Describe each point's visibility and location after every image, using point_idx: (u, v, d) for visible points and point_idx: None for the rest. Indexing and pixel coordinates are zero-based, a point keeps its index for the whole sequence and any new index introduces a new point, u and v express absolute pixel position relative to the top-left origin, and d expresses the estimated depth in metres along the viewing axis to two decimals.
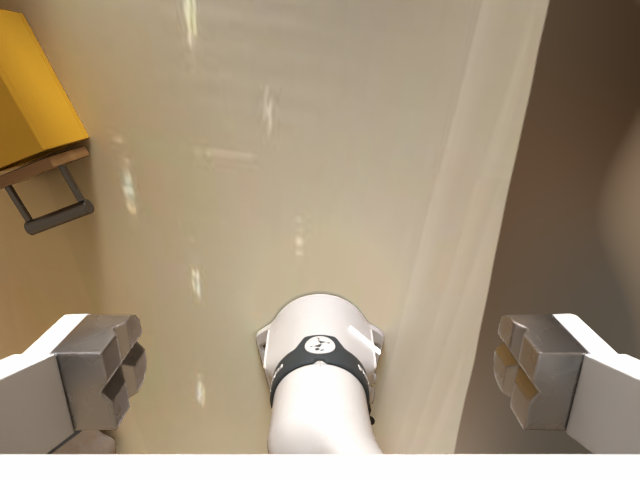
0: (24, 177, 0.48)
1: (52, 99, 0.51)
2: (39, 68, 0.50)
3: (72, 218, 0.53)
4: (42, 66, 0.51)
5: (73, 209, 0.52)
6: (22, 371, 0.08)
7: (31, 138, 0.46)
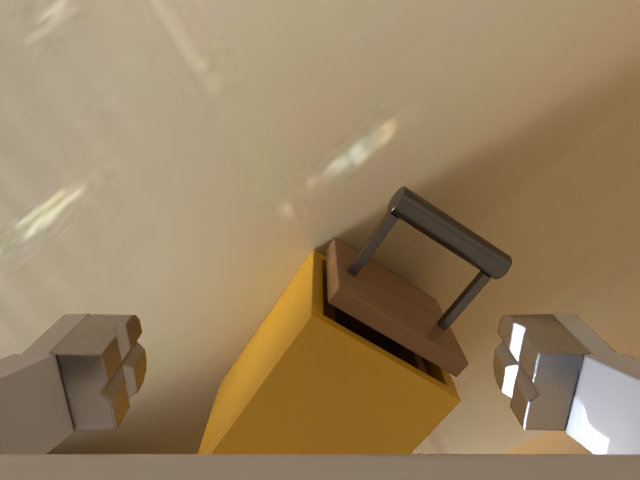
0: (389, 319, 0.25)
1: (275, 321, 0.32)
2: (252, 350, 0.34)
3: (435, 213, 0.26)
4: (251, 346, 0.34)
5: (415, 219, 0.26)
6: (22, 371, 0.08)
7: (304, 339, 0.25)
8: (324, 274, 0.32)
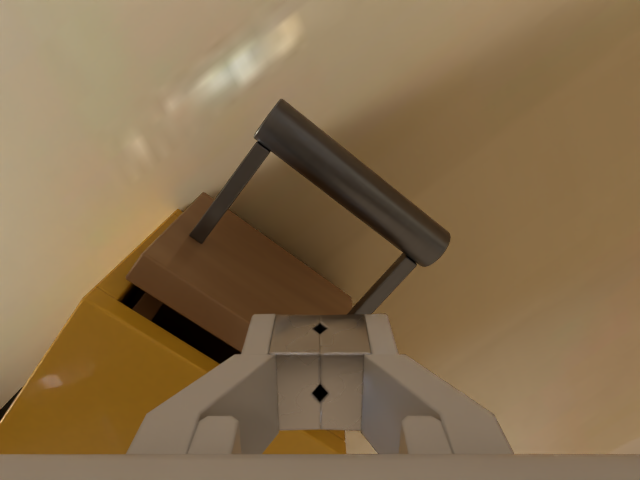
0: (232, 316, 0.15)
1: None
2: None
3: (328, 146, 0.16)
4: None
5: (293, 154, 0.16)
6: (254, 371, 0.08)
7: (75, 338, 0.14)
8: None
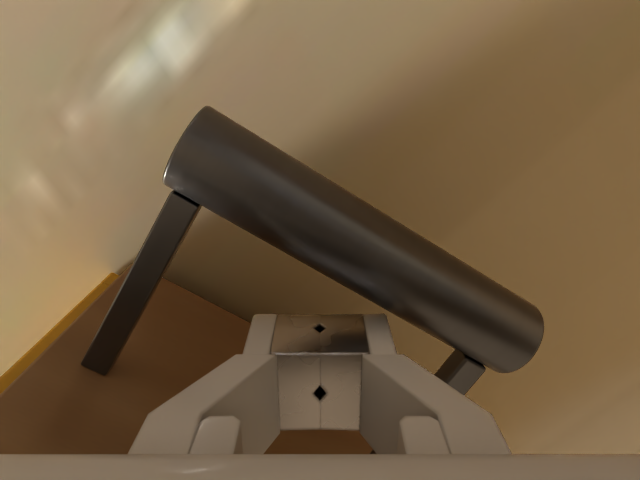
0: None
1: None
2: None
3: (304, 186, 0.08)
4: None
5: (240, 209, 0.08)
6: (256, 371, 0.08)
7: None
8: None
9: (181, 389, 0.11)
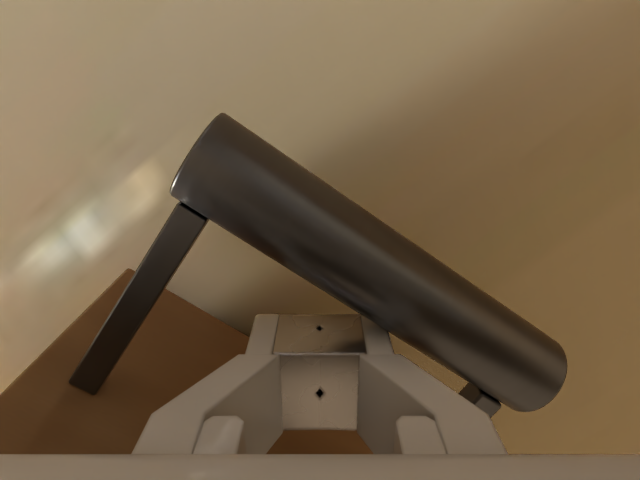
0: None
1: None
2: None
3: (323, 206, 0.08)
4: None
5: (252, 226, 0.07)
6: (258, 371, 0.08)
7: None
8: None
9: None
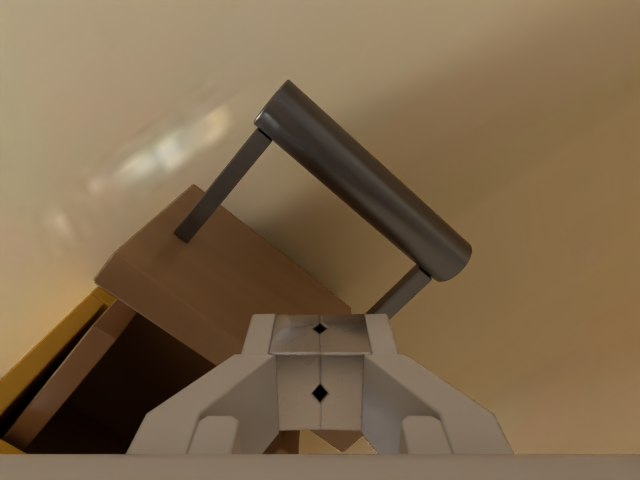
0: (218, 330, 0.13)
1: None
2: None
3: (339, 138, 0.13)
4: None
5: (299, 145, 0.13)
6: (254, 371, 0.08)
7: None
8: None
9: (230, 265, 0.16)
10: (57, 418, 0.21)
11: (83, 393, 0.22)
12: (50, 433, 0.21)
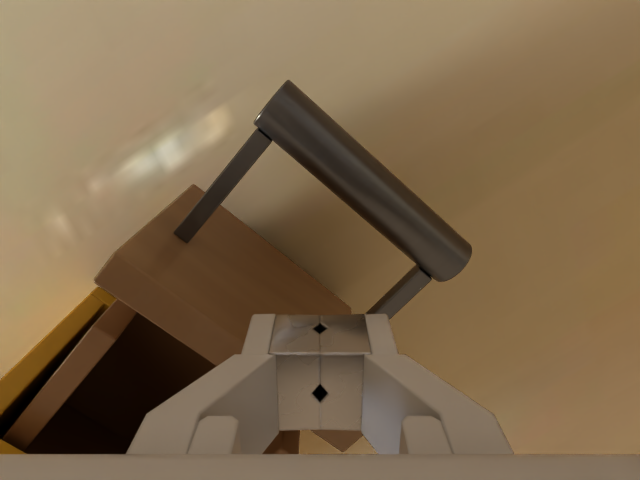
0: (219, 331, 0.13)
1: None
2: None
3: (340, 138, 0.13)
4: None
5: (299, 145, 0.13)
6: (254, 371, 0.08)
7: None
8: None
9: (230, 265, 0.16)
10: (57, 419, 0.21)
11: (83, 393, 0.22)
12: (51, 434, 0.21)
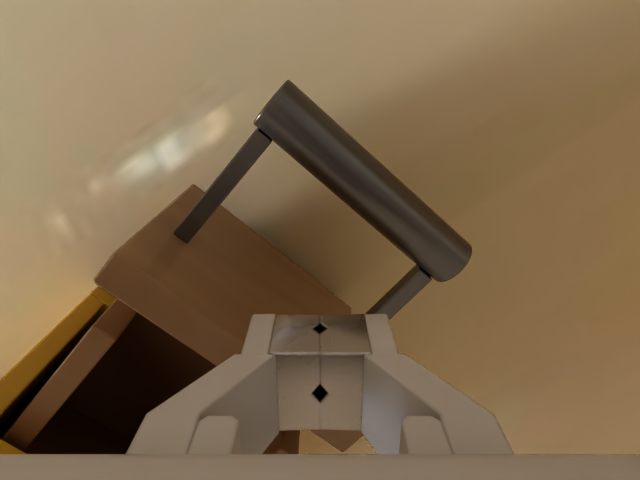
0: (218, 331, 0.13)
1: None
2: None
3: (340, 139, 0.13)
4: None
5: (299, 145, 0.13)
6: (254, 371, 0.08)
7: None
8: None
9: (230, 265, 0.16)
10: (57, 419, 0.21)
11: (83, 393, 0.22)
12: (51, 434, 0.21)
